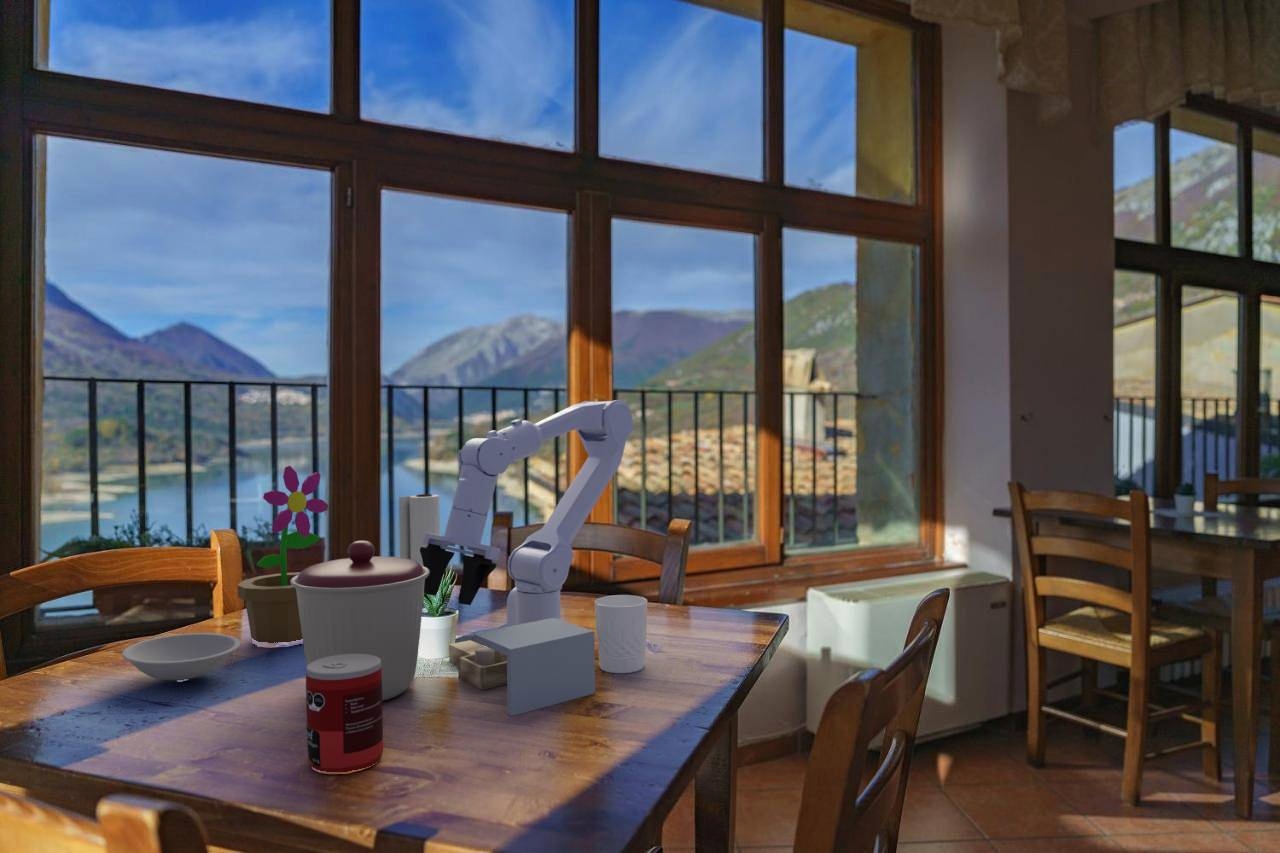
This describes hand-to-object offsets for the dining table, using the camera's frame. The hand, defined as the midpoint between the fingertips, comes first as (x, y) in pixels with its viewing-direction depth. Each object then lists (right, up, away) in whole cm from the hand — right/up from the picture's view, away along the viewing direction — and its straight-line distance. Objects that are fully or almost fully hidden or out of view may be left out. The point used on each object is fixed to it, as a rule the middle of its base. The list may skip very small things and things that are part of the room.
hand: (446, 599), depth 129 cm
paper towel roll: (-16, -9, +47) cm, 50 cm away
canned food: (-3, -11, -36) cm, 37 cm away
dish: (-37, -11, -6) cm, 39 cm away
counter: (+15, -10, -14) cm, 23 cm away
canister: (-8, -10, -13) cm, 19 cm away
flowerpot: (-31, -10, +15) cm, 36 cm away
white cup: (+27, -10, -3) cm, 29 cm away
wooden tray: (+6, -10, -3) cm, 12 cm away
